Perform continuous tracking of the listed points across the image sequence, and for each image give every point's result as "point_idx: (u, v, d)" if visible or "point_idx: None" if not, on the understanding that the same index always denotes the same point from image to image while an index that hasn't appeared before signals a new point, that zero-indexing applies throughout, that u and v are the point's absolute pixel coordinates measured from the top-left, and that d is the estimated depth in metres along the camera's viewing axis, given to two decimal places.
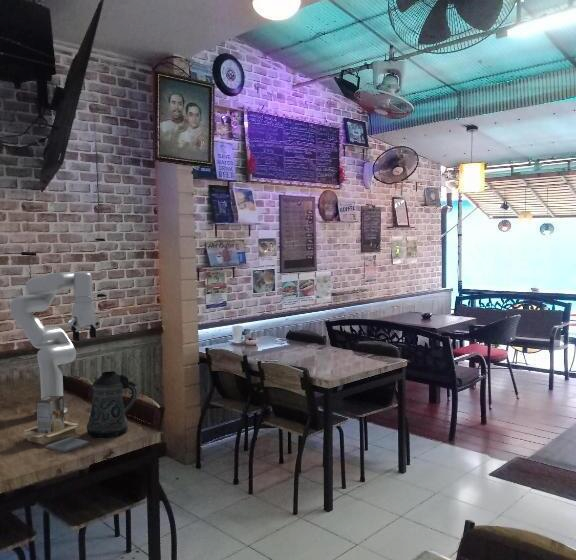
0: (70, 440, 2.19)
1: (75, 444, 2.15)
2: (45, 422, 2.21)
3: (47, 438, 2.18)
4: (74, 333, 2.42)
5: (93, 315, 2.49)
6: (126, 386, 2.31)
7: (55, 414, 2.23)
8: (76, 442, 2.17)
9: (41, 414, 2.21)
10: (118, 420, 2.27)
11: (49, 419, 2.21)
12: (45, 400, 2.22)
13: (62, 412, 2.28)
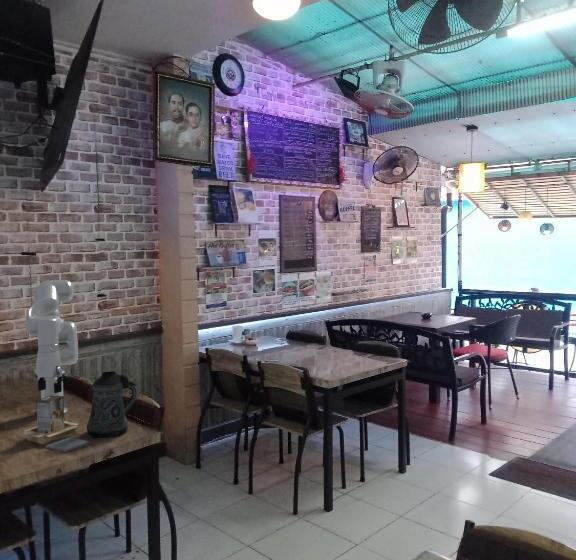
0: (70, 440, 2.19)
1: (75, 444, 2.15)
2: (45, 422, 2.21)
3: (47, 438, 2.18)
4: (59, 384, 2.22)
5: None
6: (126, 386, 2.31)
7: (55, 414, 2.23)
8: (76, 442, 2.17)
9: (41, 414, 2.21)
10: (118, 420, 2.27)
11: (49, 419, 2.21)
12: (45, 400, 2.22)
13: (62, 412, 2.28)
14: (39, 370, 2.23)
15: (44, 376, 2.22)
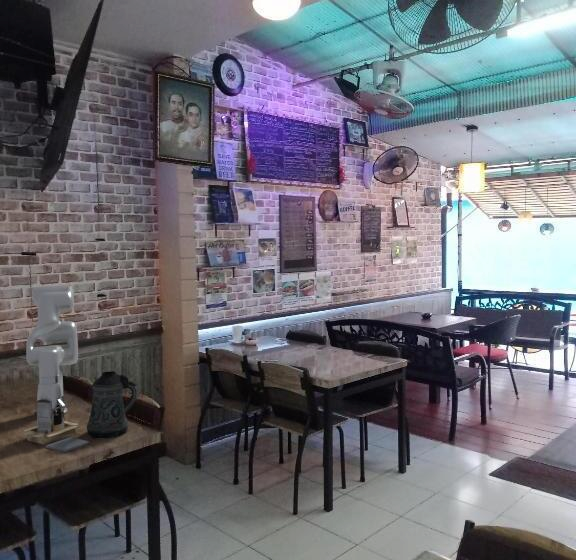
0: (70, 440, 2.19)
1: (75, 444, 2.15)
2: (45, 422, 2.21)
3: (47, 438, 2.18)
4: (59, 416, 2.23)
5: None
6: (126, 386, 2.31)
7: None
8: (76, 442, 2.17)
9: (41, 414, 2.21)
10: (118, 420, 2.27)
11: (49, 419, 2.21)
12: (45, 400, 2.22)
13: None
14: None
15: None
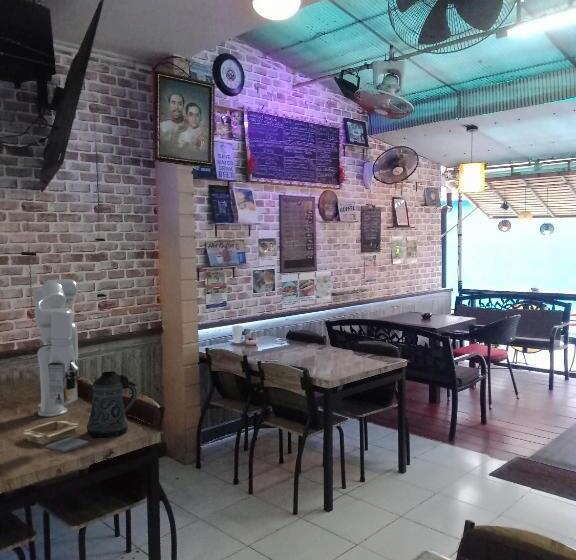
0: (70, 440, 2.19)
1: (75, 444, 2.15)
2: (57, 385, 2.12)
3: (47, 438, 2.18)
4: (72, 380, 2.14)
5: None
6: (126, 386, 2.31)
7: None
8: (76, 442, 2.17)
9: (53, 377, 2.12)
10: (118, 420, 2.27)
11: (62, 382, 2.11)
12: (57, 363, 2.13)
13: None
14: None
15: None
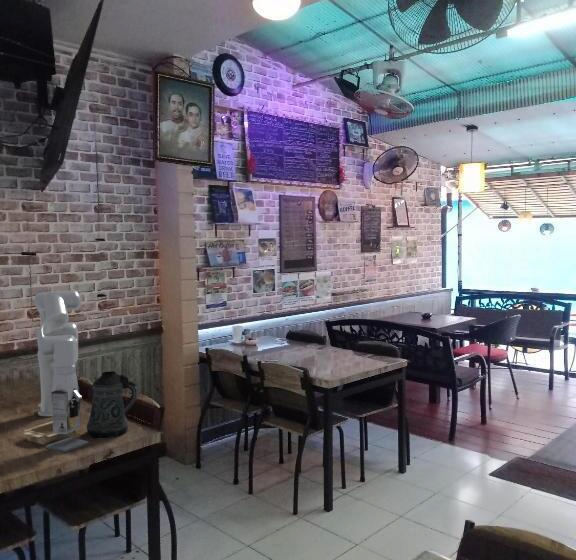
0: (70, 440, 2.19)
1: (75, 444, 2.15)
2: (60, 414, 2.11)
3: (47, 438, 2.18)
4: (75, 408, 2.13)
5: None
6: (126, 386, 2.31)
7: None
8: (76, 442, 2.17)
9: (57, 406, 2.11)
10: (118, 420, 2.27)
11: (65, 411, 2.10)
12: (61, 391, 2.12)
13: None
14: None
15: None
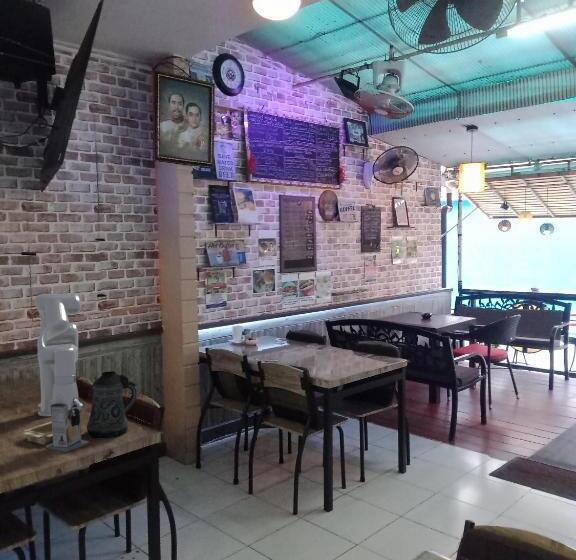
0: None
1: (75, 444, 2.15)
2: (60, 427, 2.11)
3: (47, 438, 2.18)
4: (77, 417, 2.13)
5: None
6: (126, 386, 2.31)
7: (70, 418, 2.13)
8: (76, 442, 2.17)
9: (56, 419, 2.12)
10: (118, 420, 2.27)
11: (64, 424, 2.11)
12: (60, 404, 2.12)
13: None
14: (56, 402, 2.14)
15: None
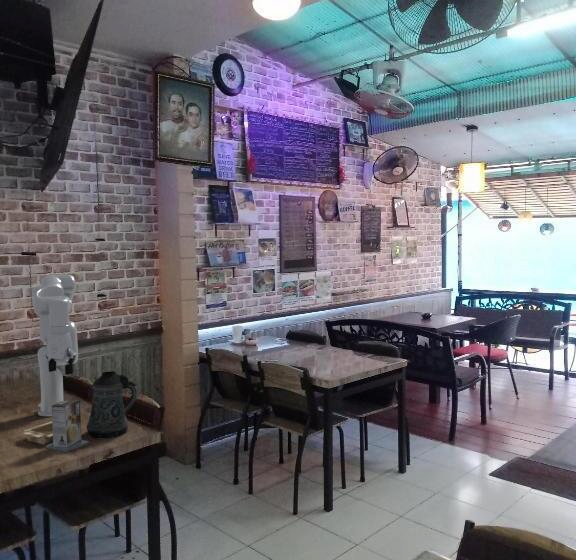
0: None
1: (75, 444, 2.15)
2: (60, 427, 2.11)
3: (47, 438, 2.18)
4: (70, 366, 2.19)
5: None
6: (126, 386, 2.31)
7: (71, 419, 2.13)
8: (76, 442, 2.17)
9: (57, 419, 2.11)
10: (118, 420, 2.27)
11: (65, 424, 2.11)
12: (61, 404, 2.12)
13: (78, 417, 2.18)
14: (50, 351, 2.20)
15: (55, 357, 2.19)
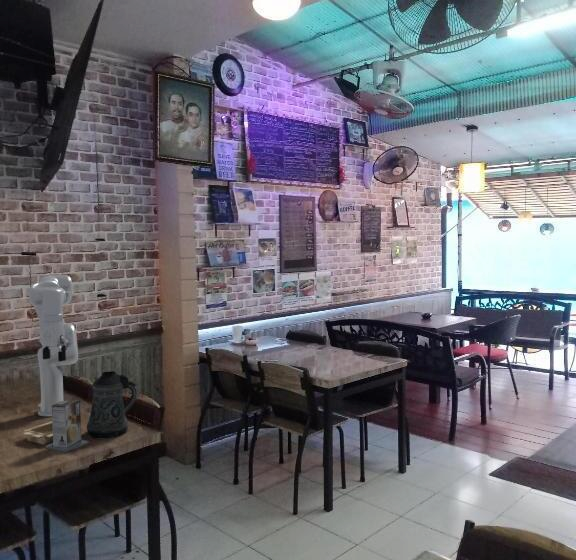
0: None
1: (75, 444, 2.15)
2: (60, 427, 2.11)
3: (47, 438, 2.18)
4: (63, 353, 2.28)
5: None
6: (126, 386, 2.31)
7: (71, 419, 2.13)
8: (76, 442, 2.17)
9: (57, 419, 2.11)
10: (118, 420, 2.27)
11: (65, 424, 2.11)
12: (61, 404, 2.12)
13: (78, 417, 2.18)
14: (44, 339, 2.30)
15: (48, 345, 2.28)
